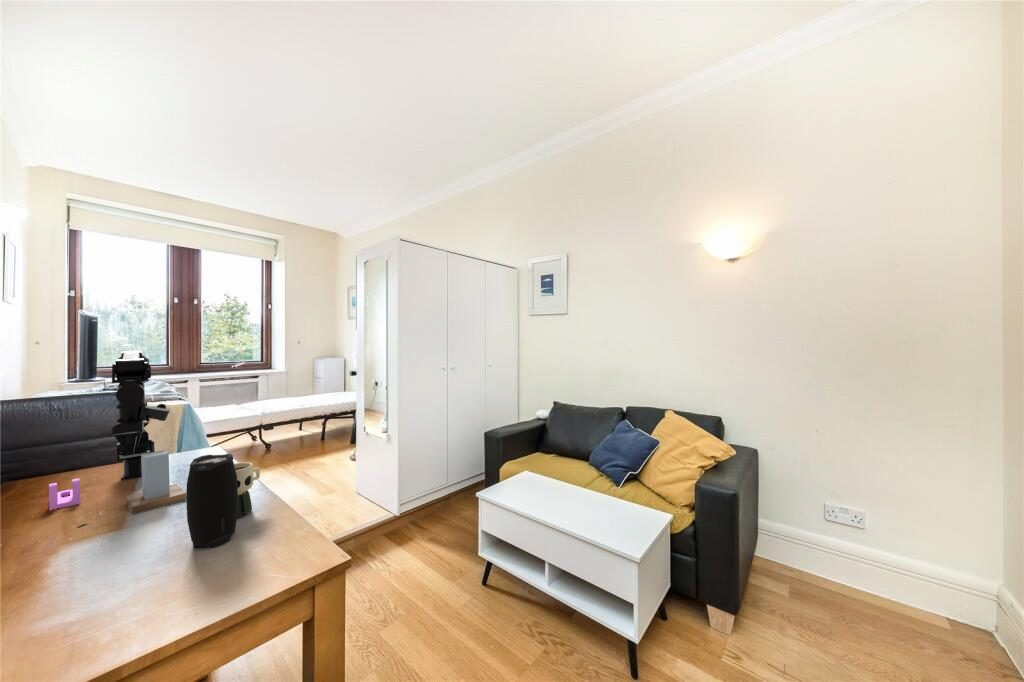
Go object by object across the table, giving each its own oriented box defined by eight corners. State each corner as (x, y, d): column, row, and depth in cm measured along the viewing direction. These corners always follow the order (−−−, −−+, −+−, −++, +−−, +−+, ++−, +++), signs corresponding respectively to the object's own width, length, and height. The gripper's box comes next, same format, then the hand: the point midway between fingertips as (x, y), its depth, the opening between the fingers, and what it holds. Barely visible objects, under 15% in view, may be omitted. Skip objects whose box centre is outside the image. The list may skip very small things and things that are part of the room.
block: (142, 495, 107) (141, 454, 107) (165, 489, 111) (164, 449, 111) (146, 500, 104) (144, 457, 104) (169, 493, 108) (168, 453, 108)
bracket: (80, 503, 107) (79, 479, 107) (49, 511, 103) (48, 486, 103) (79, 491, 116) (79, 469, 115) (51, 497, 111) (50, 474, 111)
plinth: (126, 503, 107) (125, 496, 107) (176, 490, 116) (176, 483, 116) (133, 514, 100) (132, 507, 100) (186, 499, 109) (186, 492, 109)
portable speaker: (188, 540, 88) (186, 457, 87) (237, 526, 94) (235, 449, 93) (186, 556, 81) (184, 467, 81) (240, 541, 87) (238, 457, 87)
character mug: (218, 527, 93) (217, 476, 93) (207, 519, 97) (206, 470, 97) (266, 509, 102) (265, 463, 102) (254, 503, 106) (253, 458, 106)
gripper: (164, 400, 111) (166, 452, 112) (170, 393, 126) (171, 439, 126) (110, 405, 104) (112, 460, 105) (122, 397, 119) (124, 445, 119)
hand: (133, 450), depth 114 cm, fingers open, 9 cm apart
